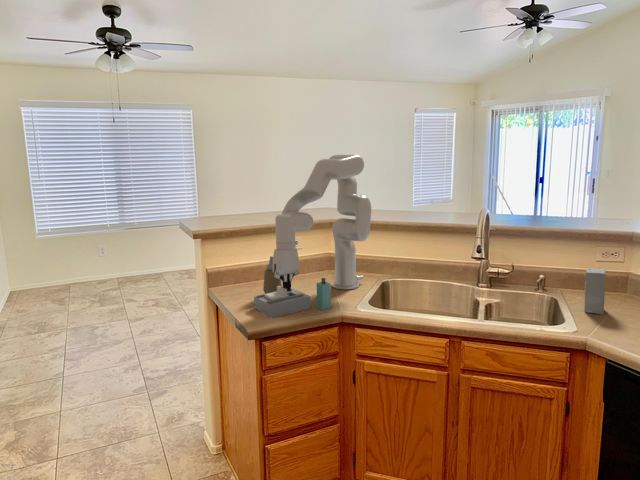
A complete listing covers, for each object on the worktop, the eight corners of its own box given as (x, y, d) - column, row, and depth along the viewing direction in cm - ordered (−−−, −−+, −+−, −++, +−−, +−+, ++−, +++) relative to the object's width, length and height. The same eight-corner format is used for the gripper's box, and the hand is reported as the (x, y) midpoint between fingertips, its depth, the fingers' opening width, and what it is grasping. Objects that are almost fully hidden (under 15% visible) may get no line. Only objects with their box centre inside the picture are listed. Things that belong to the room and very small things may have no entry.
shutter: (279, 293, 189) (279, 285, 188) (288, 297, 183) (288, 289, 183) (264, 296, 185) (264, 288, 184) (273, 301, 179) (272, 292, 179)
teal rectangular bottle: (325, 304, 190) (324, 276, 188) (330, 307, 187) (330, 278, 184) (317, 306, 188) (316, 278, 185) (322, 309, 184) (322, 280, 182)
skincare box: (603, 315, 173) (607, 274, 170) (581, 312, 177) (585, 271, 174) (604, 308, 180) (608, 269, 177) (582, 305, 184) (586, 267, 181)
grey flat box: (292, 299, 197) (292, 286, 196) (310, 308, 186) (310, 294, 185) (254, 308, 187) (253, 294, 186) (271, 318, 176) (270, 303, 175)
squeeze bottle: (279, 300, 196) (277, 259, 193) (261, 299, 198) (259, 258, 194) (284, 294, 204) (283, 254, 201) (267, 293, 206) (265, 254, 202)
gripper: (296, 241, 190) (297, 285, 194) (264, 246, 182) (266, 291, 185) (306, 244, 184) (307, 289, 188) (273, 249, 176) (275, 296, 179)
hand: (287, 290), depth 186 cm, fingers closed
